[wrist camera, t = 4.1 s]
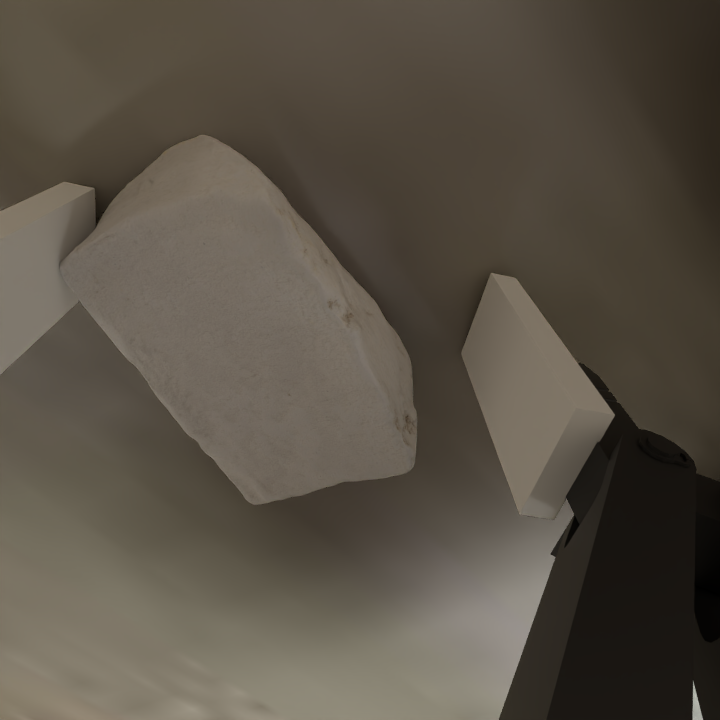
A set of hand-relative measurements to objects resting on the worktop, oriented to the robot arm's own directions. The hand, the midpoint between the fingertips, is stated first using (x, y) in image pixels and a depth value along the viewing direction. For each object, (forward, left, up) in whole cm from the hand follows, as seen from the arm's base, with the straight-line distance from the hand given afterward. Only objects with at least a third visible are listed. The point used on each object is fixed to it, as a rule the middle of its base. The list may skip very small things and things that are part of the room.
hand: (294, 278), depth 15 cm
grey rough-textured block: (+1, +1, -1) cm, 1 cm away
